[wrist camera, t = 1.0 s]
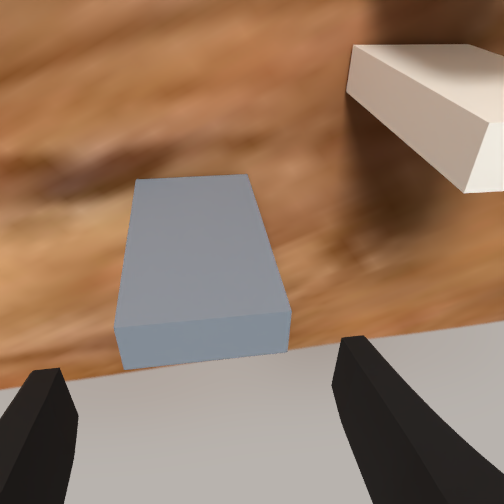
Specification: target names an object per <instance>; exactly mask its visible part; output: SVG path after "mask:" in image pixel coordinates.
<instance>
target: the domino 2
mask: <svg viewBox="0 0 504 504" xmlns="http://www.w3.org/2000/svg"><path fill="white" fill-rule="evenodd" d="M346 92H347V93H348V94H349V95H351V96H352V97H353V98H354V99H355V100H356V101H358V102H359V103H360V104H361V105H362V106H363V107H365V108H366V109H367V110H368V111H369V112H370V113H371V114H373V115H374V116H375V117H376V118H377V119H378V120H380V121H381V122H382V123H383V124H384V125H385V126H387V127H388V128H389V129H390V130H391V131H392V132H393V133H395V134H396V135H397V136H398V137H399V138H400V139H402V140H403V141H404V142H405V143H406V144H407V145H408V146H410V147H411V148H412V149H413V150H414V151H415V152H417V153H418V154H419V155H420V156H421V157H422V158H424V159H425V160H426V161H427V162H428V163H429V164H430V165H432V166H433V167H434V168H435V169H436V170H437V171H439V172H440V173H441V174H442V175H443V176H444V177H446V178H447V179H448V180H449V181H450V182H451V183H452V184H454V185H455V186H456V187H457V188H458V189H459V190H461V191H462V192H463V193H477V192H494V191H504V56H502V55H499V54H496V53H493V52H490V51H487V50H484V49H481V48H478V47H476V46H473V45H470V44H417V45H353V50H352V56H351V63H350V70H349V76H348V83H347V90H346Z"/></svg>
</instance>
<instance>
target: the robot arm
mask: <svg viewBox="0 0 504 504" xmlns="http://www.w3.org/2000/svg"><path fill="white" fill-rule="evenodd" d="M332 389H333V393H334V397H335V400H336V404H337V408H338V412H339V416H340V419H341V423H342V425H343V428H344V431H345V433H346V436H347V438H348V441H349V444H350V446H351V449H352V451H353V454H354V456H355V459H356V461H357V464H358V467H359V469H360V472H361V474H362V477H363V479H364V482H365V484H366V487H367V489H368V492H369V495H370V497H371V500H372V502H373V504H504V474H503V473H502V472H501V471H500V470H498V469H497V468H496V467H495V466H494V465H492V464H491V463H490V462H489V461H487V459H485V458H484V457H483V456H482V455H481V454H479V453H478V452H477V451H476V450H475V449H474V448H473V447H472V446H470V445H469V444H468V443H467V442H466V441H465V440H464V439H463V438H462V437H460V436H459V435H458V434H457V433H456V432H455V431H454V430H453V429H452V428H451V427H450V426H449V425H448V424H447V423H446V422H444V421H443V420H442V419H441V418H440V417H439V416H438V415H437V414H436V413H435V412H434V411H433V410H432V409H431V408H430V407H429V406H428V405H427V404H426V403H425V402H424V400H423V399H422V398H421V397H420V396H419V395H417V393H416V392H415V391H414V390H413V389H412V388H411V387H410V386H409V385H408V384H407V383H406V382H405V381H404V380H403V379H402V377H401V376H400V375H399V374H398V373H397V372H396V371H395V370H394V369H393V368H392V366H391V365H390V364H389V363H388V362H387V361H386V360H385V359H384V358H383V357H382V355H381V354H380V353H379V352H378V351H377V350H376V348H375V347H374V346H373V345H372V344H371V343H370V342H369V341H368V339H367V338H366V337H365V336H353V337H344V338H341V343H340V348H339V353H338V357H337V362H336V367H335V371H334V376H333V381H332ZM77 426H78V413H77V411H76V408H75V406H74V403H73V400H72V398H71V395H70V393H69V390H68V388H67V385H66V383H65V380H64V378H63V375H62V373H61V370H60V368H52V369H43V370H33V371H32V372H31V373H30V375H29V376H28V378H27V379H26V381H25V382H24V384H23V385H22V387H21V388H20V390H19V392H18V393H17V395H16V396H15V398H14V399H13V401H12V402H11V403H10V405H9V406H8V408H7V409H6V411H5V412H4V414H3V415H2V417H1V418H0V504H64V500H65V496H66V492H67V487H68V482H69V478H70V474H71V469H72V465H73V460H74V453H75V445H76V437H77Z"/></svg>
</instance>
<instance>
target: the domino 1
mask: <svg viewBox="0 0 504 504" xmlns="http://www.w3.org/2000/svg"><path fill="white" fill-rule="evenodd" d="M291 313H292V311H291V308H290V304H289V301H288V298H287V295H286V292H285V289H284V286H283V283H282V280H281V277H280V274H279V270H278V267H277V264H276V261H275V258H274V255H273V252H272V249H271V246H270V243H269V240H268V237H267V233H266V230H265V227H264V224H263V221H262V218H261V215H260V212H259V209H258V206H257V203H256V199H255V196H254V193H253V190H252V187H251V184H250V181H249V178H248V175H247V174H240V175H219V176H199V177H178V178H158V179H137V180H136V183H135V190H134V196H133V203H132V210H131V216H130V223H129V229H128V236H127V243H126V249H125V256H124V263H123V269H122V276H121V283H120V289H119V296H118V303H117V309H116V316H115V323H114V331H115V335H116V339H117V343H118V347H119V351H120V355H121V359H122V363H123V367H124V370H128V369H137V368H147V367H156V366H165V365H174V364H183V363H193V362H202V361H211V360H220V359H230V358H239V357H248V356H257V355H267V354H276V353H285V352H287V350H288V341H289V331H290V322H291Z"/></svg>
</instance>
